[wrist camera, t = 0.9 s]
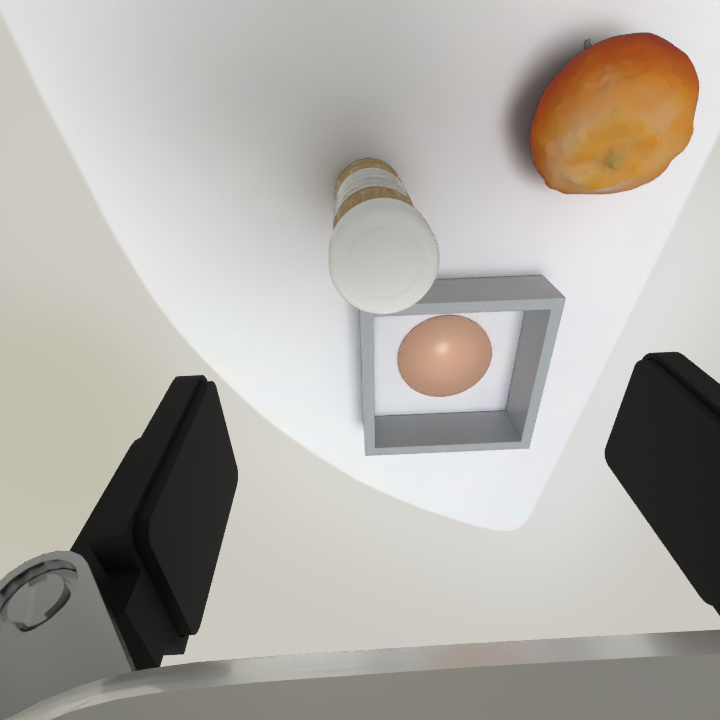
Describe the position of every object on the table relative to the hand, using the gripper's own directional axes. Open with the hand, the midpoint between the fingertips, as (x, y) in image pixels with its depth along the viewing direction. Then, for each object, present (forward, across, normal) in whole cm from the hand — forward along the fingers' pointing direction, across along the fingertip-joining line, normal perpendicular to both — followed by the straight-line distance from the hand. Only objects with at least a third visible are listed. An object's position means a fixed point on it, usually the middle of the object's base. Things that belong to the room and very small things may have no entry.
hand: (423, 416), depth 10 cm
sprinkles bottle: (+23, 0, 0) cm, 23 cm away
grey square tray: (+23, -6, +13) cm, 27 cm away
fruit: (+23, -13, -4) cm, 26 cm away
